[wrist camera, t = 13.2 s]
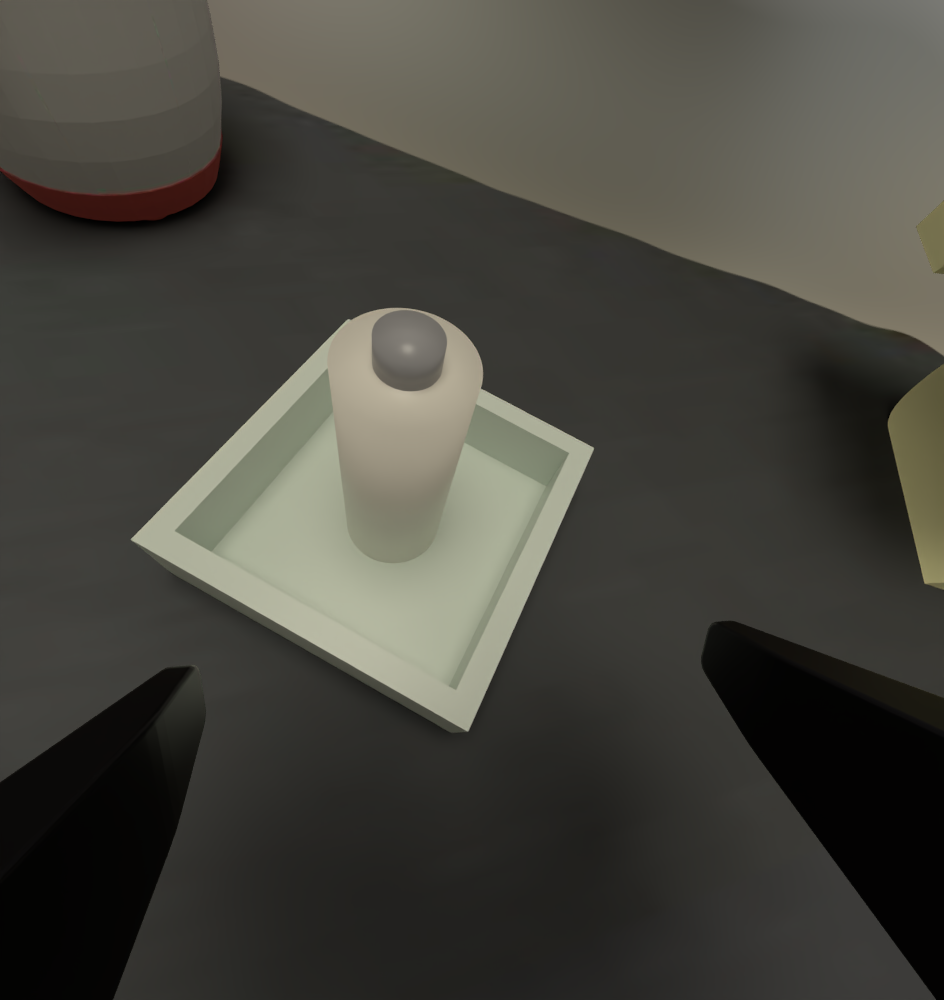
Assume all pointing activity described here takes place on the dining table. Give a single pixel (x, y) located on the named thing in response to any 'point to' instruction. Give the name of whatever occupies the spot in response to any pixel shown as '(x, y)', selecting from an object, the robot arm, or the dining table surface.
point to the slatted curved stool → (924, 438)
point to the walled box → (353, 575)
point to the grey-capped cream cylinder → (400, 424)
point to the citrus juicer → (110, 105)
